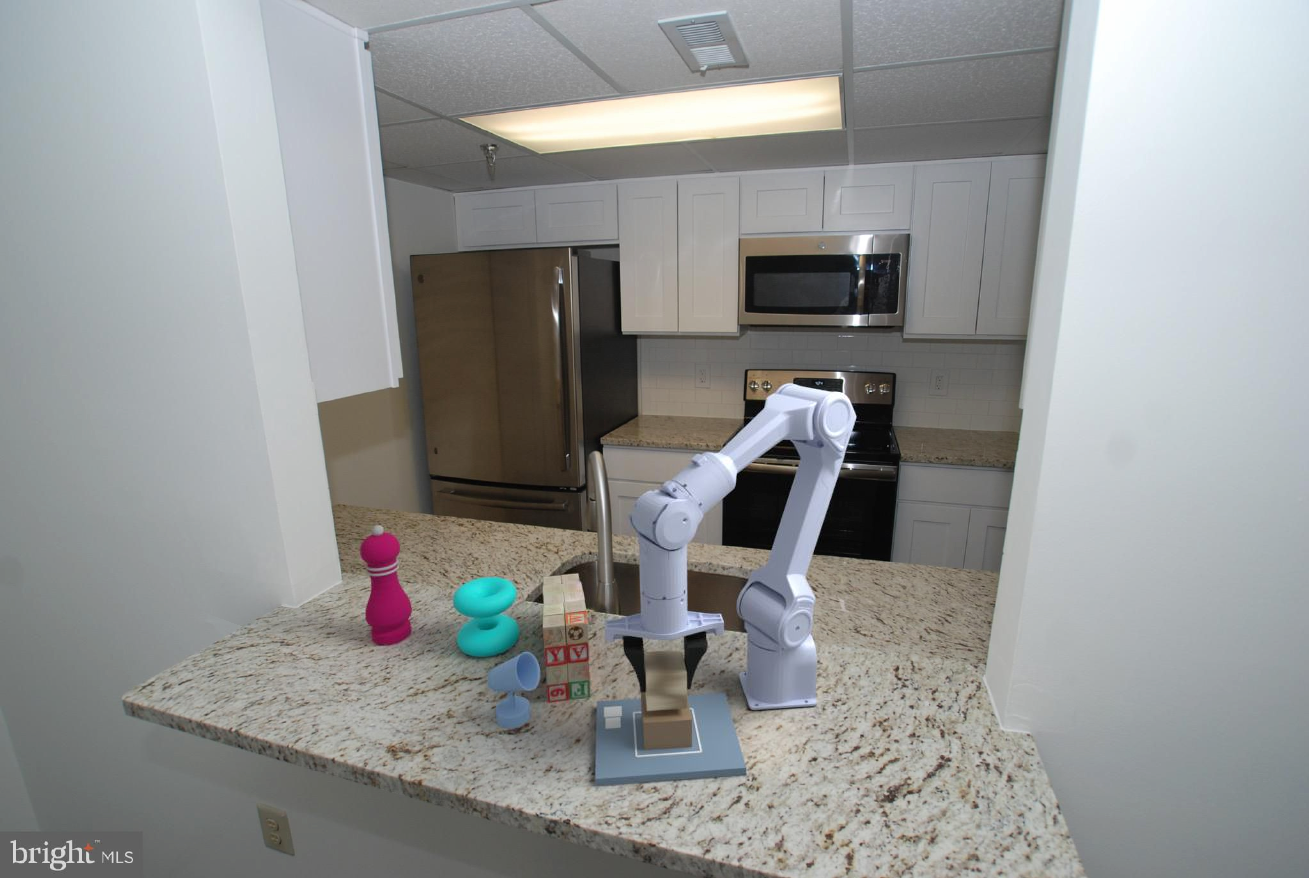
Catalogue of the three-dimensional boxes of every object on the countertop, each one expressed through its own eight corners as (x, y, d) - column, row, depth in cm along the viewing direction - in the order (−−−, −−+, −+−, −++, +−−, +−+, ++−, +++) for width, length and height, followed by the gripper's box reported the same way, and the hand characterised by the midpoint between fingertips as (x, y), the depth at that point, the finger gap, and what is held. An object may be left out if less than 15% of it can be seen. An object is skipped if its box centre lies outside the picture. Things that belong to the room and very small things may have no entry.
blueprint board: (724, 698, 88) (724, 667, 87) (746, 774, 75) (746, 739, 73) (597, 707, 87) (595, 675, 86) (595, 785, 73) (593, 750, 72)
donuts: (454, 578, 104) (515, 570, 106) (460, 631, 107) (519, 623, 109) (449, 607, 95) (516, 598, 97) (455, 664, 97) (521, 655, 99)
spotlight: (547, 710, 86) (503, 701, 88) (542, 646, 84) (497, 639, 86) (530, 734, 82) (484, 724, 84) (525, 668, 79) (477, 659, 81)
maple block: (682, 683, 82) (681, 649, 81) (687, 708, 77) (686, 672, 76) (644, 685, 82) (643, 651, 80) (646, 710, 77) (646, 675, 76)
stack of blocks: (546, 624, 108) (541, 559, 105) (582, 620, 109) (578, 556, 106) (547, 704, 88) (542, 626, 85) (591, 698, 89) (588, 621, 86)
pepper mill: (404, 647, 102) (389, 534, 97) (361, 647, 102) (343, 534, 97) (421, 623, 109) (408, 516, 104) (380, 624, 109) (365, 517, 104)
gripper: (717, 570, 80) (716, 663, 83) (603, 576, 79) (607, 670, 82) (727, 597, 73) (726, 697, 76) (603, 604, 72) (607, 705, 75)
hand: (665, 686), depth 79 cm, fingers closed on maple block, 5 cm apart
